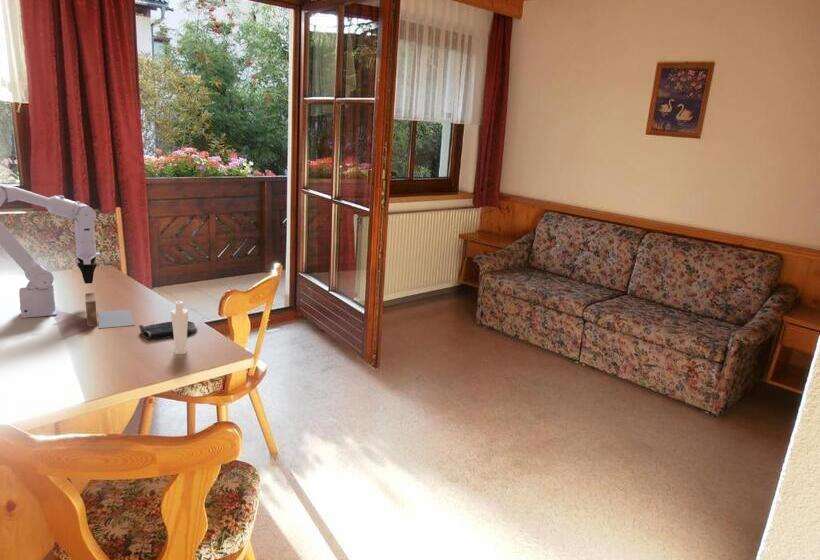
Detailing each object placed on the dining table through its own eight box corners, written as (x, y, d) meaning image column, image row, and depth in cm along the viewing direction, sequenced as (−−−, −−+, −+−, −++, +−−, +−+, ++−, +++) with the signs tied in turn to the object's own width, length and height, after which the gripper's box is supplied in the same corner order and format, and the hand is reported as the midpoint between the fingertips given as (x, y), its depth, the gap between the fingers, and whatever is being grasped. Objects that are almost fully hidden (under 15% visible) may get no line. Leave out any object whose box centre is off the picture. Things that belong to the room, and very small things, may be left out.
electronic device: (151, 348, 170) (201, 332, 179) (146, 330, 168) (197, 315, 178) (141, 342, 177) (190, 327, 186) (137, 324, 175) (186, 310, 185)
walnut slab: (87, 326, 178) (85, 301, 176) (87, 316, 186) (85, 293, 183) (97, 325, 179) (95, 301, 177) (96, 316, 187) (94, 292, 185)
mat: (99, 328, 177) (99, 328, 177) (97, 312, 190) (97, 311, 190) (134, 325, 181) (134, 324, 181) (131, 309, 195) (131, 309, 195)
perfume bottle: (179, 356, 162) (177, 305, 158) (169, 352, 164) (167, 302, 160) (192, 351, 166) (191, 302, 162) (183, 347, 168) (181, 298, 164)
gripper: (100, 244, 185) (102, 285, 188) (98, 236, 197) (101, 273, 200) (74, 245, 181) (78, 286, 185) (74, 236, 193) (77, 275, 197)
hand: (88, 280), depth 192 cm, fingers open, 7 cm apart
